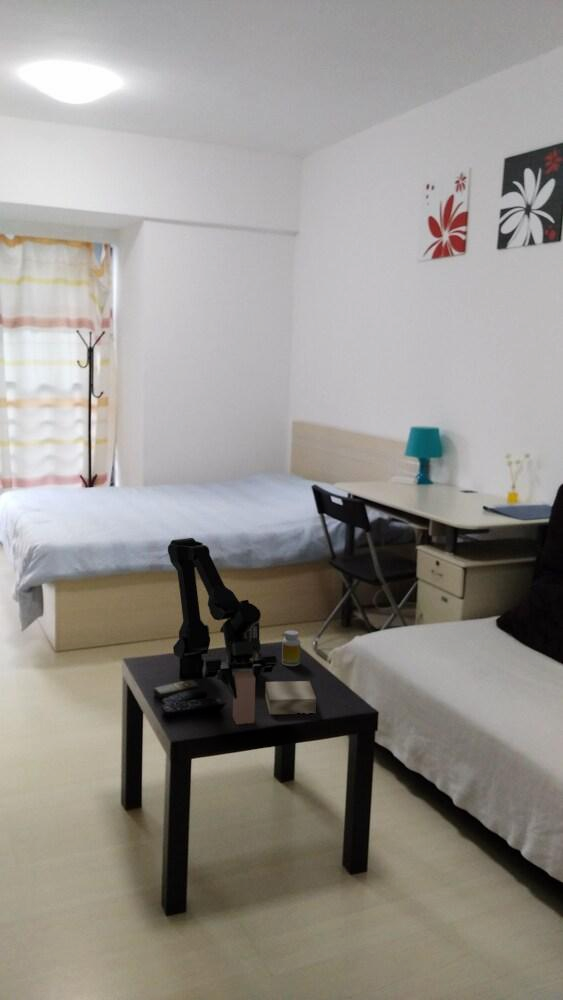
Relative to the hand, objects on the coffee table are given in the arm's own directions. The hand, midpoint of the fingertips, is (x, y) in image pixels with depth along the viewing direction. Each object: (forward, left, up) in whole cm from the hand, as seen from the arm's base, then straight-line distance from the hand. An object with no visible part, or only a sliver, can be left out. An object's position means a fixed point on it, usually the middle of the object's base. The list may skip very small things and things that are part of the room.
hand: (245, 697), depth 217 cm
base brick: (+13, +10, -7) cm, 18 cm away
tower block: (0, +1, -7) cm, 7 cm away
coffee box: (+2, +33, -7) cm, 34 cm away
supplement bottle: (+17, +40, -7) cm, 44 cm away
